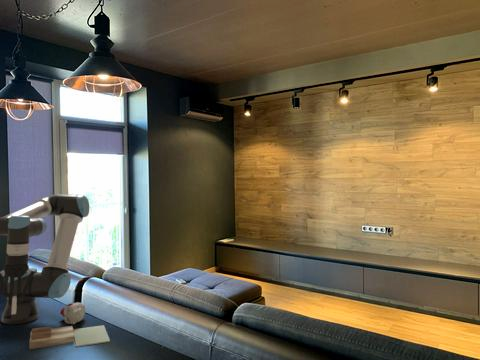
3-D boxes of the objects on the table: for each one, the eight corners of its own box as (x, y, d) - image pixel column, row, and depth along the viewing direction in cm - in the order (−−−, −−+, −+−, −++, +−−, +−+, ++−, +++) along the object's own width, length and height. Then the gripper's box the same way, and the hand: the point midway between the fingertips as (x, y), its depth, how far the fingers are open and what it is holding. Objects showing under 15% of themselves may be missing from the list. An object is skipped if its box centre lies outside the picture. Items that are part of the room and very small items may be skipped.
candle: (76, 326, 163) (51, 325, 168) (94, 318, 174) (70, 317, 179) (75, 306, 164) (50, 305, 169) (93, 299, 174) (69, 299, 179)
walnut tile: (31, 333, 150) (32, 328, 150) (50, 330, 153) (51, 326, 153) (31, 340, 144) (31, 335, 144) (51, 337, 147) (51, 332, 147)
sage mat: (73, 330, 160) (73, 329, 160) (103, 326, 167) (103, 325, 167) (76, 347, 145) (76, 345, 145) (109, 341, 151) (109, 340, 151)
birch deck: (30, 337, 152) (30, 331, 152) (72, 331, 159) (72, 325, 159) (29, 349, 141) (29, 342, 141) (73, 342, 149) (74, 336, 149)
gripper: (-4, 256, 138) (-8, 318, 137) (35, 254, 144) (32, 314, 143) (-1, 253, 144) (-5, 312, 144) (36, 251, 151) (32, 308, 150)
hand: (13, 313), depth 143 cm, fingers closed
